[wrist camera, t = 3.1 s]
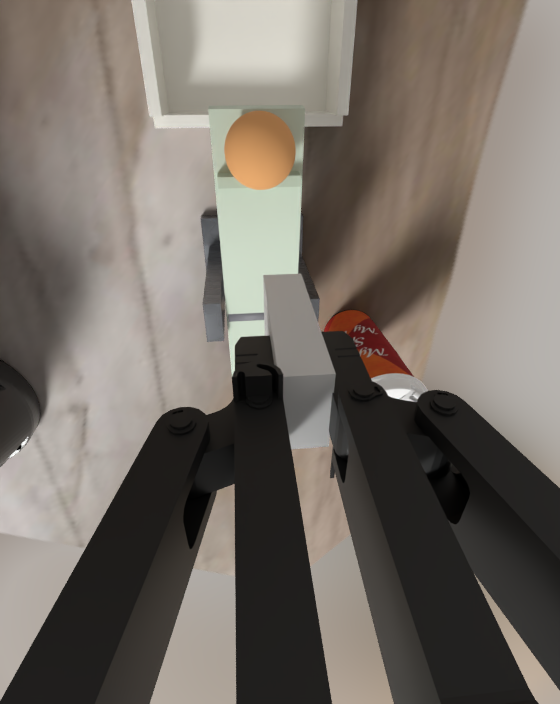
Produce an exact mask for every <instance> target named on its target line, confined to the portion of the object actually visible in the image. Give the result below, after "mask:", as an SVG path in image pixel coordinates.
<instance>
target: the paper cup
mask: <svg viewBox="0 0 560 704" xmlns="http://www.w3.org/2000/svg"><path fill="white" fill-rule="evenodd" d="M327 331H344V332H345V333H346V334H348V335H349V336H350V337H351V338H353V341H354V343H355V345H356V347H357V349H358V351H359V354H360V357H361V358H362V360H363V362H364V365H365V367H366V369H367V371H368V373H369V376H370V378H371V380H372V381H373V382H376V383H377V384H379V385H380V386H382V387H383V388H384V390H385V391H386V392H387V394H388V396H390V397H392V398H396V399H400V400H406V401H412V402H417V400H418V398H419V397H420V395H421V394H422V393H424V392H427V391H428V389H427V388H426V386H425V385H424V384H423V383H422V382H421V381H420V380H419V379H417V378H415V377H414V376H413V375H412V373H411V372H410V371H409V369H408V368H407V367H406V365H405V364H404V362H403V361H402V359H401V358H400V357H399V355H398V354H397V352H396V351H395V350H394V348H393V347H392V346H391V344H390V343H389V342H388V340H387V339H386V338H385V337H384V335H383V334H382V333H381V331H380V330H379V329H378V327H377V326H376V325H375V323H374V322H373V321H372V320H371V318H370V317H369V316H368V315H366V314H365V313H363V312H361V311H358V310H346V311H343V312H340V313H338V314H336V315H335V316H334V317H332V318H331V319H330V320H329V322H328V323H327V325H326V327H325V329H324V332H327Z"/></svg>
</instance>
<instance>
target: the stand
mask: <svg viewBox="0 0 560 704" xmlns="http://www.w3.org/2000/svg"><path fill="white" fill-rule="evenodd" d="M201 225H202V235H203V244H204V253H205V263H206V280H205V289H204V298H203V310H204V319H205V327H206V335H207V342H211V341H224V317H225V292H224V281H223V270H222V258H221V247H220V236H219V225H218V216H201ZM302 234H303V214H302V213H301V217H300V239H299V262H298V274H301V275H302V278H303V281H304V283H305V286H306V289H307V292H308V295H309V298H310V301H311V304H312V307H313V309H314V312H315V315H316V318H317V321H318V316H319V300H320V299H319V296H318V294H317V291H316V289H315V286H314V284H313V281H312V279H311V277H310V274H309V272H308V269H307V267H306V264H305V262H304V259H303V257H302Z"/></svg>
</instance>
